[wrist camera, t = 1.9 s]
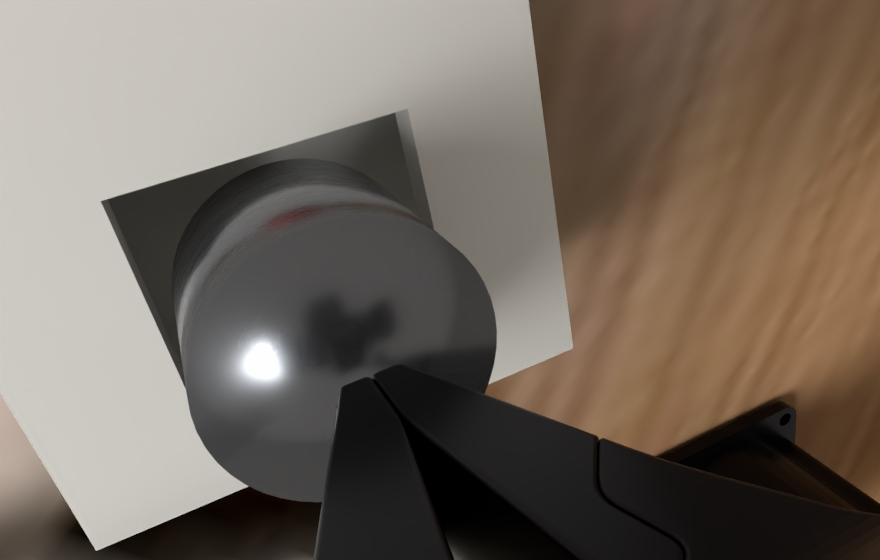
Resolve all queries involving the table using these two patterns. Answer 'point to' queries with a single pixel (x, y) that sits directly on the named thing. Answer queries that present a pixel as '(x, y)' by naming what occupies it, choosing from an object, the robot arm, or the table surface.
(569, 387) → the table surface
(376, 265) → the plug
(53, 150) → the console
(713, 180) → the table surface
